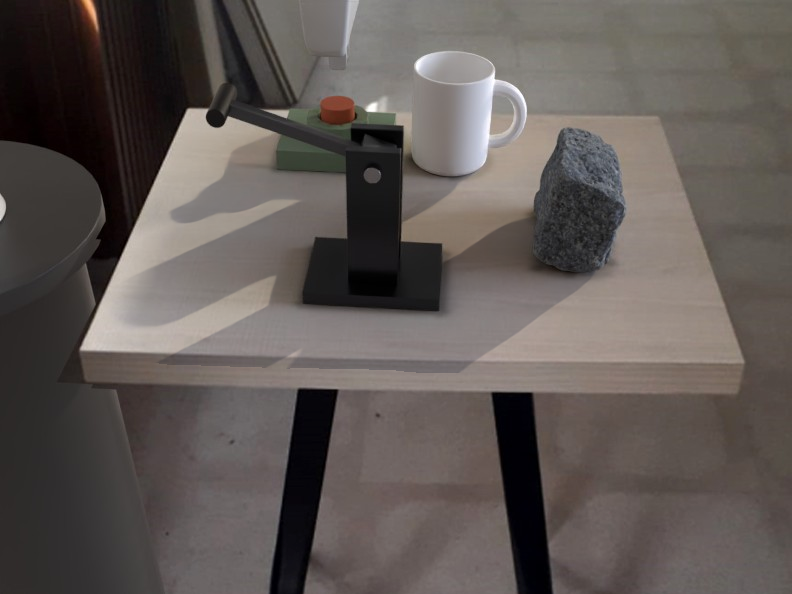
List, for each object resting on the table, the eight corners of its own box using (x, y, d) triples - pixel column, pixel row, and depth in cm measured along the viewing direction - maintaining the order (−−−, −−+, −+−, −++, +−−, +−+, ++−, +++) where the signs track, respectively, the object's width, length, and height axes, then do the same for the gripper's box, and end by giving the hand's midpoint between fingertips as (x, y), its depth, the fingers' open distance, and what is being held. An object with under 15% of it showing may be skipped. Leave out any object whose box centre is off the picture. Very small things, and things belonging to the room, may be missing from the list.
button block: (277, 169, 101) (274, 134, 99) (291, 126, 109) (289, 92, 106) (389, 174, 101) (390, 139, 98) (396, 131, 108) (396, 97, 106)
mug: (519, 144, 107) (529, 53, 100) (523, 181, 101) (534, 87, 94) (411, 140, 107) (414, 49, 100) (409, 176, 101) (412, 82, 94)
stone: (521, 205, 97) (533, 112, 90) (597, 207, 97) (614, 114, 90) (533, 276, 88) (547, 178, 81) (618, 278, 88) (638, 180, 81)
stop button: (319, 125, 101) (318, 109, 100) (323, 110, 104) (322, 94, 103) (352, 126, 101) (352, 111, 100) (356, 111, 104) (356, 96, 103)
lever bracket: (302, 303, 84) (294, 160, 75) (315, 247, 90) (309, 109, 81) (439, 311, 83) (447, 168, 74) (442, 254, 90) (450, 116, 81)
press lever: (202, 129, 75) (208, 101, 74) (215, 101, 79) (221, 75, 78) (384, 190, 78) (394, 165, 76) (388, 161, 82) (397, 136, 80)
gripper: (315, -112, 97) (321, 24, 106) (284, -46, 82) (295, 106, 91) (377, -111, 97) (378, 26, 106) (357, -44, 82) (360, 109, 91)
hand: (339, 64), depth 99 cm, fingers closed
